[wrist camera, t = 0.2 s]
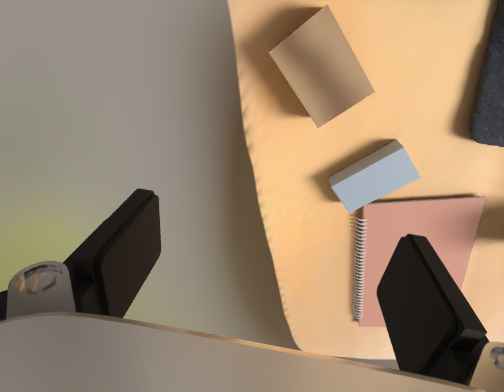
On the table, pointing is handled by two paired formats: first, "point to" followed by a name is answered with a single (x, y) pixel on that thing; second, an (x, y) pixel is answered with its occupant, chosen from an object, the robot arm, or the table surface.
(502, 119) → the dark slate chunk
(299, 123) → the table surface
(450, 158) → the table surface
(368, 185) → the pale blue rectangular block
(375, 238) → the notebook
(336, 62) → the block
